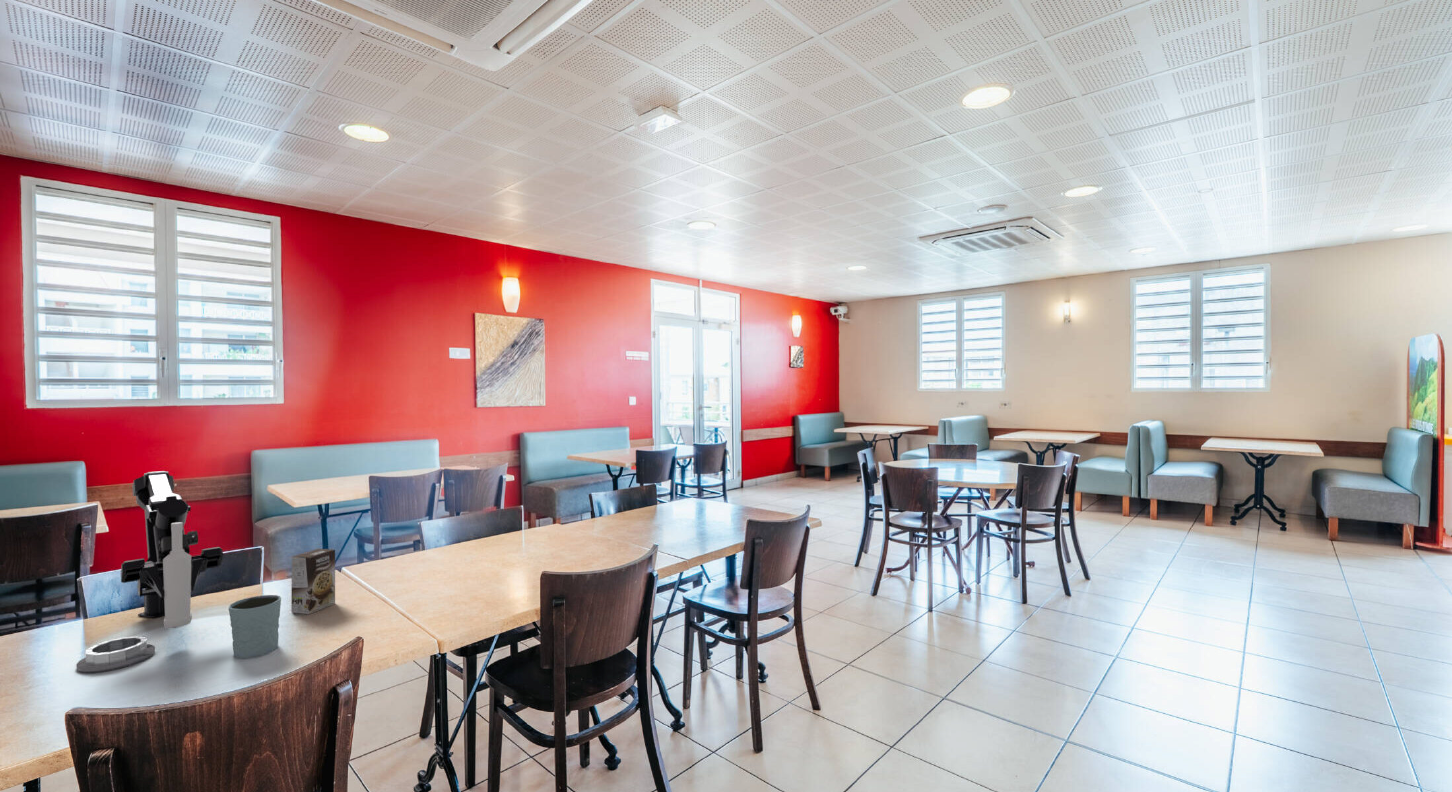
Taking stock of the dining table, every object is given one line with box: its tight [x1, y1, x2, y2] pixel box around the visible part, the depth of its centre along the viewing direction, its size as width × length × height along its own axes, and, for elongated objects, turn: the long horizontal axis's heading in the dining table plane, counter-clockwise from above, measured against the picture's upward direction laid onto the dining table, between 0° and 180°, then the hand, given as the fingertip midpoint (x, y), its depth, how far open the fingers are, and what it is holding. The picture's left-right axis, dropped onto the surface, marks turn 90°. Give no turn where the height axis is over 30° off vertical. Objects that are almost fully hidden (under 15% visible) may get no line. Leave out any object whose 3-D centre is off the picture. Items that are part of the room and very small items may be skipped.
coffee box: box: [290, 548, 336, 615], centre depth 176 cm, size 9×6×16 cm
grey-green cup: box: [228, 594, 282, 659], centre depth 148 cm, size 10×10×12 cm
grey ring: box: [75, 635, 156, 674], centre depth 142 cm, size 13×13×4 cm
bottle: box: [163, 522, 193, 629], centre depth 149 cm, size 5×5×25 cm
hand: (177, 593), depth 149 cm, fingers closed on bottle, 5 cm apart
